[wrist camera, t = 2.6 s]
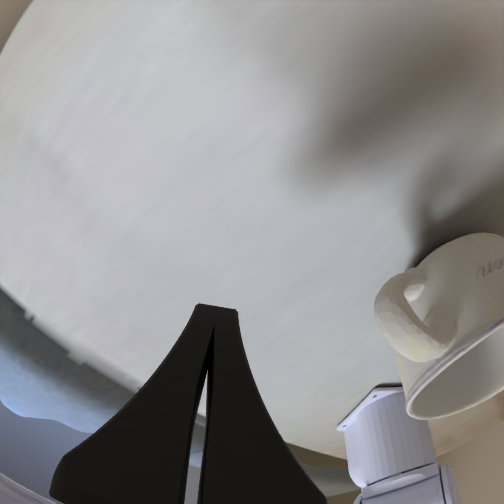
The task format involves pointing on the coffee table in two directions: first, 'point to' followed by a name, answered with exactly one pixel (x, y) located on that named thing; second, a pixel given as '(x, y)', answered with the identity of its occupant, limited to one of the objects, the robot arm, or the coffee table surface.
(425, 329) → the teacup
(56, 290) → the coffee table surface
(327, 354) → the coffee table surface
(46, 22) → the coffee table surface
